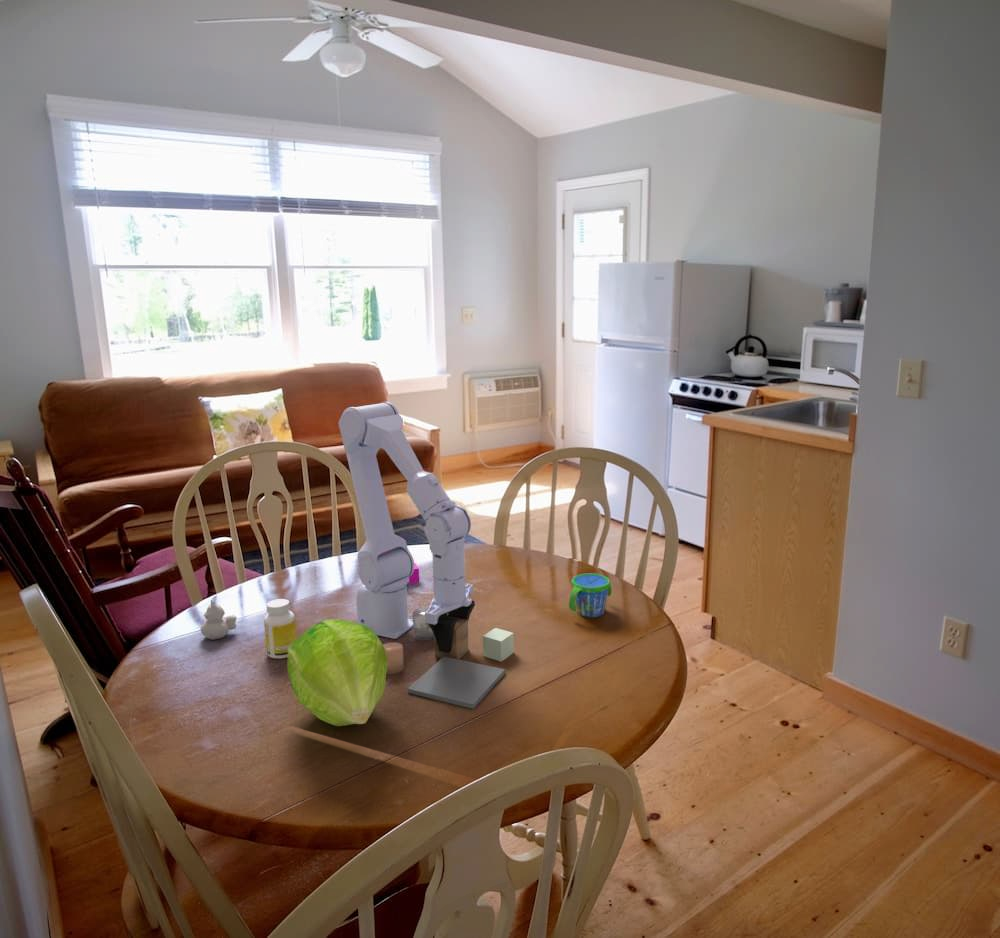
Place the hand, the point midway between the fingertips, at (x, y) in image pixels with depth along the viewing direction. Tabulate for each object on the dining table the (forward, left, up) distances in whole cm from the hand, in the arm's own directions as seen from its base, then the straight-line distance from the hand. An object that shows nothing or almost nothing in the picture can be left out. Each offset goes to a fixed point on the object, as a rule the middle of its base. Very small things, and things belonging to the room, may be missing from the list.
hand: (451, 645), depth 131 cm
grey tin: (-8, +4, -2) cm, 9 cm away
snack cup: (+18, +26, -2) cm, 32 cm away
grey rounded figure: (-45, -12, -2) cm, 46 cm away
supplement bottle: (-29, -12, -2) cm, 31 cm away
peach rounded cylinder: (-7, -9, -2) cm, 12 cm away
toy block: (-30, +29, -2) cm, 41 cm away
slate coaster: (+6, -9, -2) cm, 11 cm away
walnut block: (0, 0, -2) cm, 2 cm away
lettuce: (-4, -27, -2) cm, 27 cm away
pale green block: (+8, +3, -2) cm, 9 cm away
